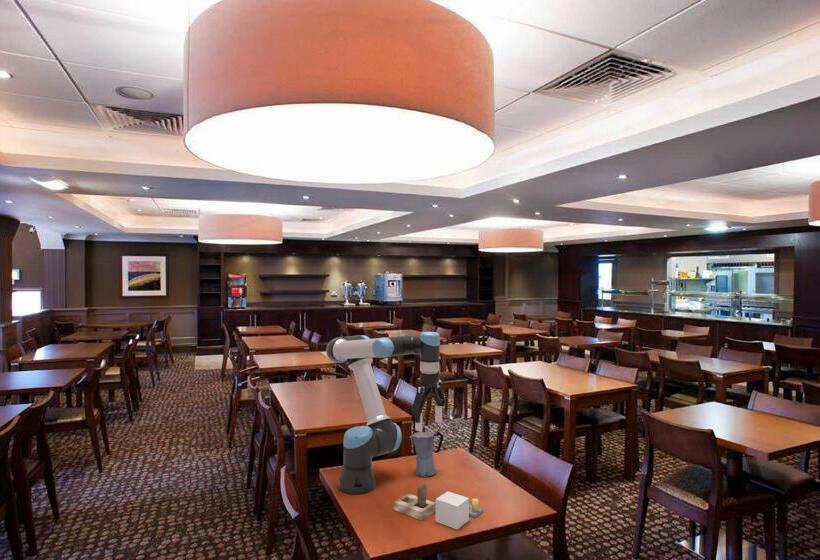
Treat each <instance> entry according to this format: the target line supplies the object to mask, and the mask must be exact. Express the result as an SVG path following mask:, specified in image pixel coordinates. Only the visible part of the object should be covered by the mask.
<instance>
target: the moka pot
mask: <svg viewBox="0 0 820 560" xmlns="http://www.w3.org/2000/svg"><path fill="white" fill-rule="evenodd" d="M437 437H440V438H439V443H438V447H437V450H434V444H435V443H434V441H435V438H437ZM409 439H410V440H411V442H412V443H413V445H414V448H415V449H414V450H415V452H416V457H415V460H416V463H415V464H416V466H415V467H416V468H415V474H416V475H417V476H419V477H423V478H425V477H426V478H427V477H431V476H434V475H435V474H436V467H435V462H434V455H433V453H434V454H436V453H440V450H441V447H442V445H443V440H444V435H443V433H441V432H440V431H439V430H438V431H432V432H431V431H426V428H424V427H422V431H417V432H414V434H411V435H410V436H409ZM433 451H434V452H433Z"/></svg>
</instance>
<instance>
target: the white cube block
mask: <svg viewBox="0 0 820 560" xmlns="http://www.w3.org/2000/svg"><path fill="white" fill-rule="evenodd" d="M435 503H436V512H435V521H434V522H436V523H438V524H441V525H445V526H447V527H449V528H452V529H454V530H459V529H460V528H461V527H462V526H464V525H465V524H466V523H467V522H469V521H470V519H469V518H470V516H469V504H470V497H467V496H464V495H461V494H457V493H455V492H451V491H448V490H446V492H444V493H442V494H441V495H439V496H438V497H437V498H435Z"/></svg>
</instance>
